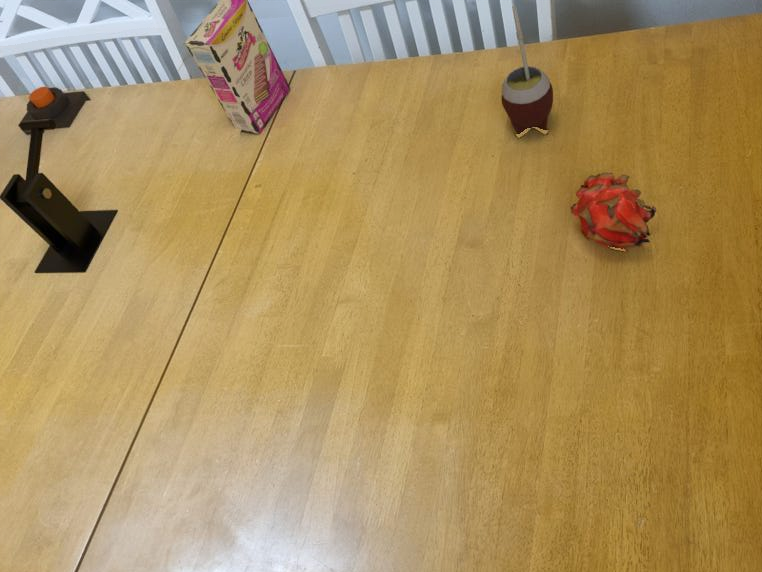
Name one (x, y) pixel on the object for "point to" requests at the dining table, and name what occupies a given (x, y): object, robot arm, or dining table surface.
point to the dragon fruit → (612, 212)
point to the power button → (41, 97)
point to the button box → (58, 108)
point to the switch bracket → (59, 225)
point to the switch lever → (33, 153)
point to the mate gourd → (526, 92)
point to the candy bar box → (239, 64)
